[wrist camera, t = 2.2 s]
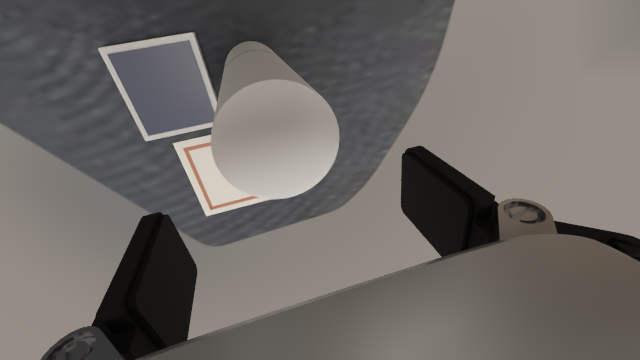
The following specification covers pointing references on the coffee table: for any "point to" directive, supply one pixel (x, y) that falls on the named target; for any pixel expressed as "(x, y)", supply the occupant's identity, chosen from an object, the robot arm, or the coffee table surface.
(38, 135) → the coffee table surface
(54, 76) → the coffee table surface
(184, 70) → the ink pad
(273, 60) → the cylindrical container
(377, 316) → the robot arm
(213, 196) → the marked paper
